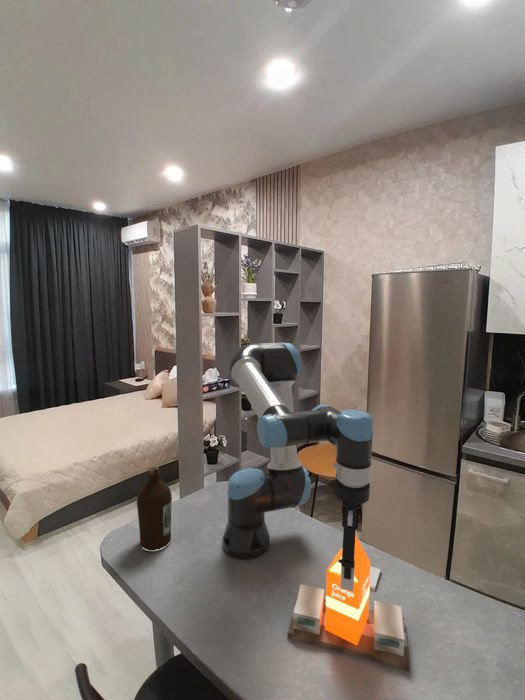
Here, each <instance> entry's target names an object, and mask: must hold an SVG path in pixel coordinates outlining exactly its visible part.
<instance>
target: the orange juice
mask: <svg viewBox="0 0 525 700" xmlns="http://www.w3.org/2000/svg"><path fill="white" fill-rule="evenodd" d="M342 549H343V547H341V549H340V550H339V551H338V552H337V554H336V555H335V557H334V558H333V560H332V561H331V563H330V565H329V566H328V568H327V569H326V590H325V591H326V592H325V593H326V594H325V600H326V620H325V630H327V631H329V632H331V633H333V634H335V635H337V636H339V637H341V638H343V639H345V640H347V641H349V642H351V643H353V644H355V645H357V644H358V642H359V639H360V637H361V634H362V632H363V629H364V627H365V624H366V622H367V619H368V610H369V609H370V608H369V604H370V603H369V602H370V566H371V563H372V562H371V560H370V559H369V556H368V554H367V553H366V551H365V549H364V547H363V546H362V544H361V542H360V540H359V538H358V537H357V536H356V535H355V554H354V561H355V569H354V590H353V592H352V591H348V590H343V589H340V586H341V563H339V562H338V559H342Z"/></svg>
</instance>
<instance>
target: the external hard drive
mask: <svg viewBox="0 0 525 700" xmlns="http://www.w3.org/2000/svg"><path fill="white" fill-rule="evenodd" d="M381 573H382V569H381V568H377V567H374V566H372V565H370V589H369V591H373V592H376V589H377V587H378V584H379V580H380V576H381Z"/></svg>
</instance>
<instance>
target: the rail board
mask: <svg viewBox="0 0 525 700" xmlns="http://www.w3.org/2000/svg"><path fill="white" fill-rule="evenodd" d="M295 598H296V599H295V602H294V607H293V610H292V615H291V619H290V623H289V625H288V631H287V639H288V640H292V641H294V642H295V641H296V642H300V643H303V644H307V645H311V646H315V647H318V648H322V649H326V650H330V651H332V652H333V651H334V652H337V653H340V654H345V655H347V656H352V657H356V658H359V659H363V660H366V661H367V660H368V661H370V662H375V663H379V664H382V665H385V666H389V667H393V668H397V669H401V670H405V671H410V658H409V657H410V656H409V650H408V641H407V631H406V624H405V622H406V621H405V617H403V613H402V606H401V605H396V604H392V603H386V602H382V601H377V600H374V607H373V610H372V609H368V619H367V622H366V624H365V627H364V629H363V632H362V634H361V637H360V639H359V642H358V644H357V645H355V644H353V643H351V642H349V641H347V640H345V639H343V638H341V637H339V636H337V635H335V634H333V633H331V632H329V631H327V630H325V620H326V598H325V589H323V588H319V587H316V586H315V587H314V586H311V585H305V584H300V586H299V589H298V593H297V595H296V597H295Z"/></svg>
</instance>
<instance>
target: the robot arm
mask: <svg viewBox="0 0 525 700" xmlns="http://www.w3.org/2000/svg"><path fill="white" fill-rule="evenodd" d="M301 369H302V361H301V356H300V353H299V351H298V349H297V348H296V346H295V345H293V344H292V343H290V342H289V343H288V342H282V341H281V342H269V343H268V342H267V343H265V342H264V343H248V344H245V345H243V346H241V347H240V348H238V349H237V350H236V351H235V352H234V353H233V354H232V356H231V357H230V360H229V363H228V371H229V375H230V377H231V379H232V381H233V382H234V383H235V384H237V385H238V386H239V387H240V388H241V390H242V391H243V394H244V395H245V397H246V398H247V400H248V402H249V404H250V405H251V407H252V409H253V410H254V412H255V414H256V416H257V418H258V419H257V423H256V434H257V437H258V442H259V443H260V445H261V446H262V447H263V448H267V449H269V448H270V458H271V460H270V462H269V463H268V464H267V466H266V467H267V468H266V469H267V472H264V471H263V470H262V469H260V468H256V467H255V468H253V467H249V468H243V469H240V470H237V471H236V472H234V473H233V474H232V475H231V476H230V477H229V479H228V483H227V491H226V494H227V495H226V496H227V523H226V527H225V529H224V533H223V536H222V549H223V548H224V549H223V550H225V551H224V552H225V553H226V554H227V555H228V556H230V557H232V558H234V559H238V560H254V559H257V558H259V557H262V556H263V555H264V554H266V553H267V551H269V549H270V546H271V545H270V544H271V535H270V532H269V530H268V527H267V523H266V521H265V520H266V519H265V513H269V512H275V511H279V510H280V511H281V510H284V509H291V508H297V507H299V506H302V505H305V504H306V503H307V501H308V500H309V499H310V496H311V491H312V482H311V477H310V474H309V472H308V469H306V467H303V463H302V462H301V461H300V460H299V459H298V453H297V452H298V451H297V445H303V444H312V443H313V444H314V443H320V442H329V443H331V445H333V446H334V447H336V450H335V451H336V458H335V459H336V463H333V465H332V467H333V468H334V469H335V480H334V481H335V482H334V483H335V485H334V486H335V487H334V495H335V497H336V498H337V499H338V500H339V501H341V502H342V505H341V514H342V518H341V519H342V524H341V526H342V528H343V534H342V535H343V536H342V548H343V549H342V548H341V549H342V559H338V562H339V563H341V586H340V589H343V590H348V591H352V592H353V590H354V569H355V561H354V554H355V535H356V537H357V534H358V532H357V531H358V529H359V524H360V522H361V521H360V519H361V505H364V504H365V503H367V502H368V501H369V499H370V491H371V484H370V483H371V480H372V479H371V477H372V475H371V474H372V448H373V436H374V430H373V427H374V426H373V420H374V419H373V417H372V415H371V414H370V413H368V412H367V411H362V410H359V409H344V410H341V411H340V410H339V409H337V408H335V407H333V406H330V405H327V404H318V405H317V406H315V407H313V408H312V409H311V410H306V411H295V412H294V402H293V401H294V400H293V391H292V390H293V389H292V387H293V385H294V384H295V383H296V377H297V376H299V375H300V373H301V371H302V370H301Z"/></svg>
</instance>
